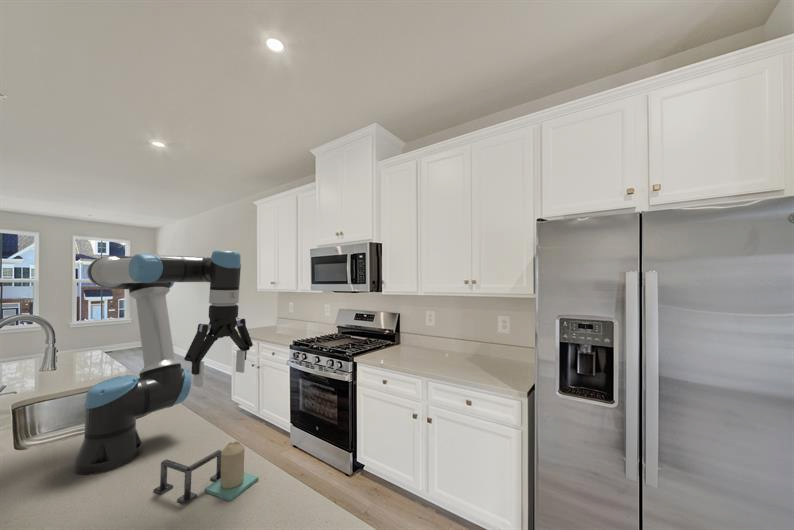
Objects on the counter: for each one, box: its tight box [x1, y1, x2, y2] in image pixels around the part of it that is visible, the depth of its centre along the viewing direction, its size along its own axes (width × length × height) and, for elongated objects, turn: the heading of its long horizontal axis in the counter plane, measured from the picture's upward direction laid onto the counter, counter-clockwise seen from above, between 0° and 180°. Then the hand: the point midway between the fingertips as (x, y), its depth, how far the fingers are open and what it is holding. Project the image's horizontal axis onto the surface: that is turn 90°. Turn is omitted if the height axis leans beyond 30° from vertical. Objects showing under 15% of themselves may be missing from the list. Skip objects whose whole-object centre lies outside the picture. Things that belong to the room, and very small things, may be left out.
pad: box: [204, 472, 259, 502], centre depth 85 cm, size 9×9×1 cm
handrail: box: [152, 449, 222, 505], centre depth 86 cm, size 12×12×8 cm
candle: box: [221, 441, 245, 489], centre depth 86 cm, size 6×6×10 cm
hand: (220, 378), depth 92 cm, fingers open, 13 cm apart
